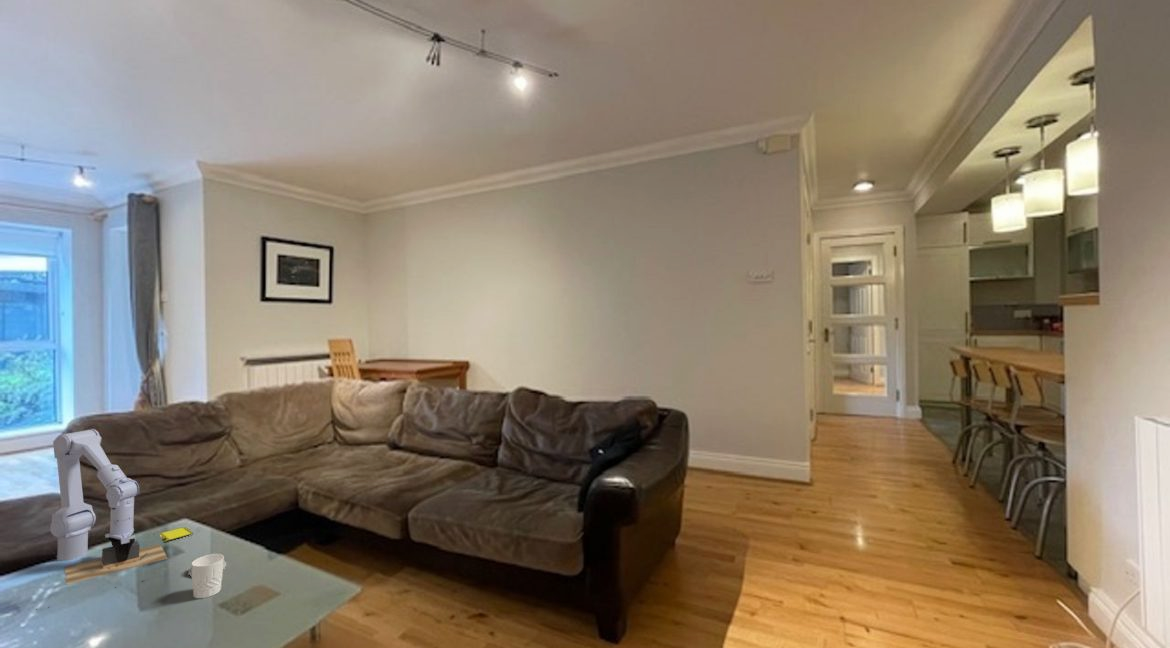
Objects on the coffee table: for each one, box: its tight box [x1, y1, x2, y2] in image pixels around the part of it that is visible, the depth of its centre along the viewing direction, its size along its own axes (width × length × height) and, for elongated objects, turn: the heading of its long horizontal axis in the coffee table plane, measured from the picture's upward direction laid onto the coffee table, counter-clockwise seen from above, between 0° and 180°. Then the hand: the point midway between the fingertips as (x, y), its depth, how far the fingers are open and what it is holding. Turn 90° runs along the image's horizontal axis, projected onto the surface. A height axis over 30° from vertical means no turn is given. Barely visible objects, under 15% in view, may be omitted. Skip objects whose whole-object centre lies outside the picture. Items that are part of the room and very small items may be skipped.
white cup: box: [191, 553, 225, 599], centre depth 150 cm, size 8×8×10 cm
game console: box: [152, 526, 194, 544], centre depth 186 cm, size 18×11×2 cm, turn 146°
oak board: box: [64, 543, 169, 585], centre depth 165 cm, size 16×24×1 cm, turn 138°
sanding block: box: [101, 540, 140, 569], centre depth 166 cm, size 5×9×5 cm, turn 140°
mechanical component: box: [188, 552, 227, 577], centre depth 163 cm, size 10×4×10 cm
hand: (121, 558), depth 166 cm, fingers closed on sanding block, 5 cm apart
